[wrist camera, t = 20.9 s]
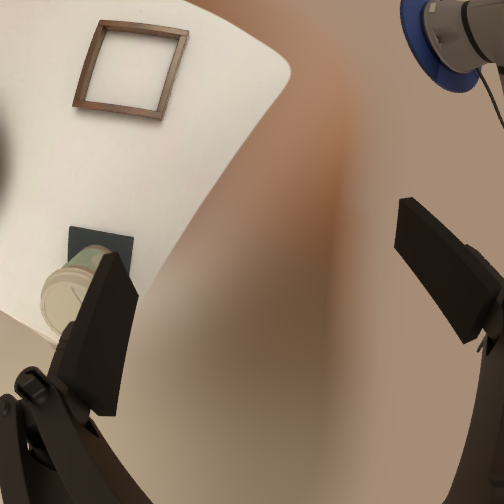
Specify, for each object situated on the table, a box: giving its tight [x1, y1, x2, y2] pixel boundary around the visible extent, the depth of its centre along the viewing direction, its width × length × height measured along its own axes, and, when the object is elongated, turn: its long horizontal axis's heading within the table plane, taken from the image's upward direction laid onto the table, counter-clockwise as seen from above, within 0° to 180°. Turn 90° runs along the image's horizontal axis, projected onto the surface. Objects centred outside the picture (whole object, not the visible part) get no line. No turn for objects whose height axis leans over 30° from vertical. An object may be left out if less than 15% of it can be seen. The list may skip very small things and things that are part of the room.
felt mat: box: [68, 226, 134, 275], centre depth 37 cm, size 9×9×1 cm
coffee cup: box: [41, 245, 112, 337], centre depth 31 cm, size 8×8×12 cm
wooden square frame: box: [72, 20, 189, 120], centre depth 28 cm, size 11×11×2 cm
